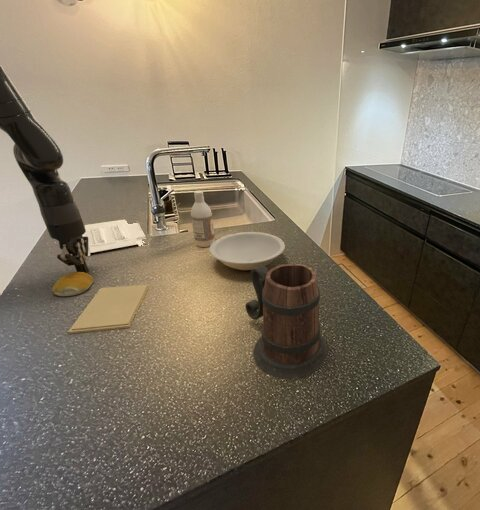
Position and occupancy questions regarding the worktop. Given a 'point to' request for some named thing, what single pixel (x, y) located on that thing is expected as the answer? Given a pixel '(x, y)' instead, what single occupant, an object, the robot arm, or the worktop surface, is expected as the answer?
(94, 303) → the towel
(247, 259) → the soup bowl
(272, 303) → the tankard
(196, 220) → the bath foam
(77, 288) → the bread roll
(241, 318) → the worktop surface
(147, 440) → the worktop surface
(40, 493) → the worktop surface
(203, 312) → the worktop surface
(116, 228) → the tray
